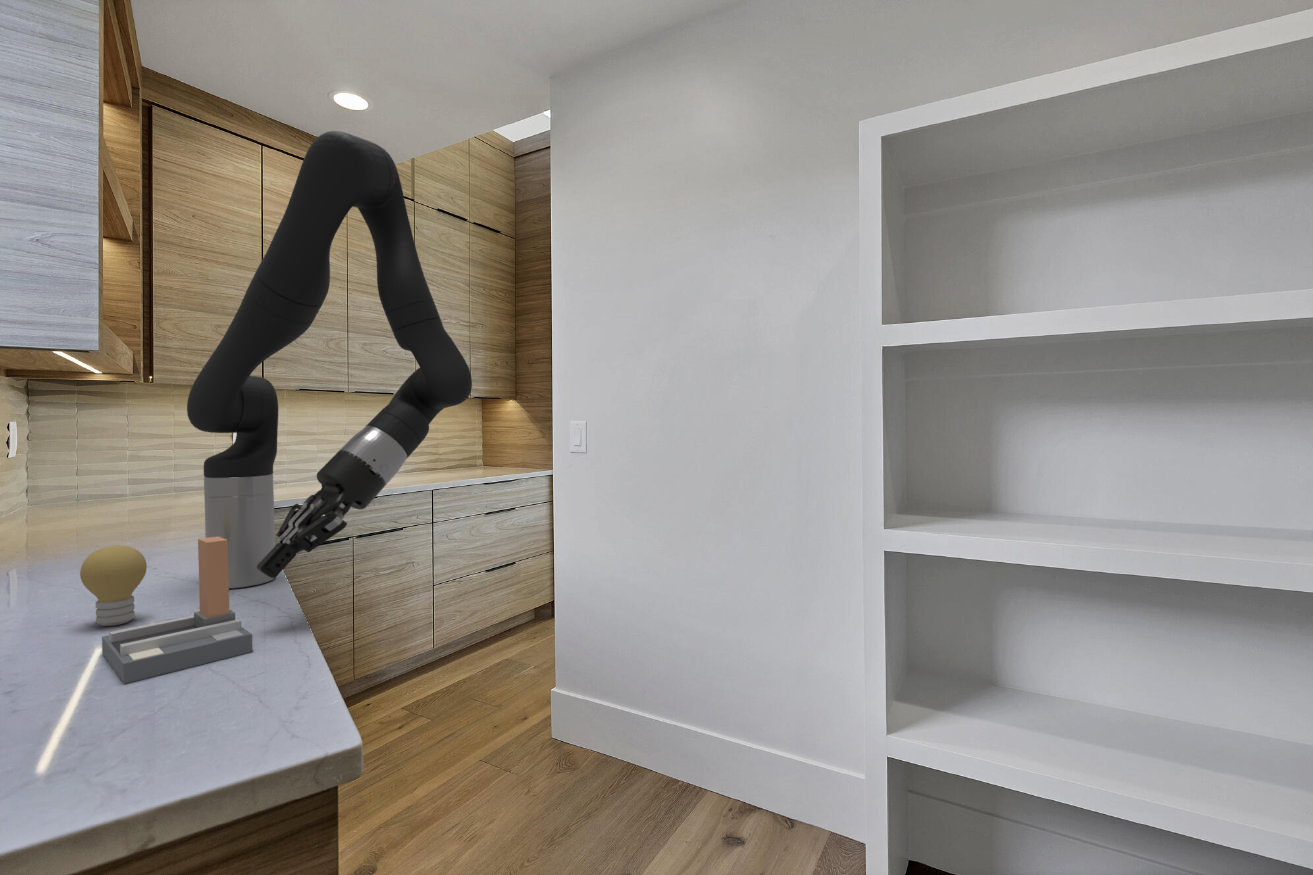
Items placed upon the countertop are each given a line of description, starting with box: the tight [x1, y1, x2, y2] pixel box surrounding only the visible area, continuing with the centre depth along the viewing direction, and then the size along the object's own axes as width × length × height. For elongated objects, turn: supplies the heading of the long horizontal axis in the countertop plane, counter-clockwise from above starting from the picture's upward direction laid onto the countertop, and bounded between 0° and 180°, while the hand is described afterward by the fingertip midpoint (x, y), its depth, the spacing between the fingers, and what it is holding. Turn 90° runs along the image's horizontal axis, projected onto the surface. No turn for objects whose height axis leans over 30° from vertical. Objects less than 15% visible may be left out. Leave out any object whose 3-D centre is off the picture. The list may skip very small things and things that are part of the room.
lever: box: [193, 536, 236, 628], centre depth 71 cm, size 4×3×10 cm
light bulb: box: [79, 545, 148, 627], centre depth 79 cm, size 6×6×10 cm
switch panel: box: [101, 614, 253, 685], centre depth 68 cm, size 12×11×3 cm
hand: (264, 573), depth 75 cm, fingers closed
